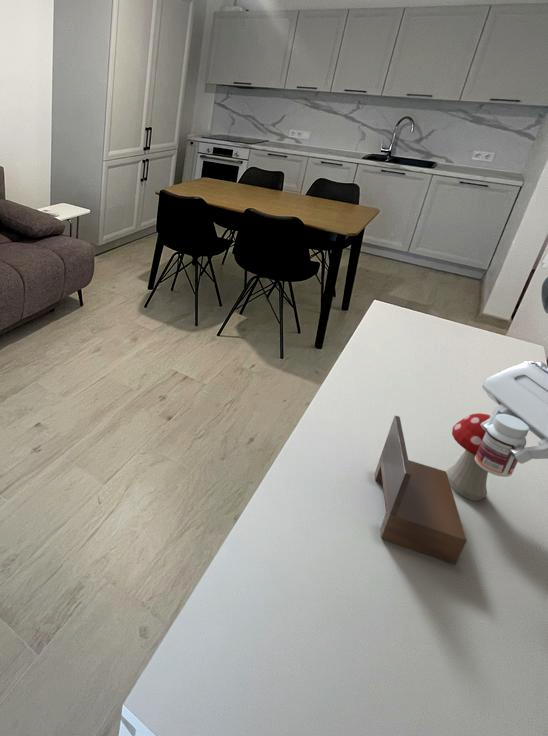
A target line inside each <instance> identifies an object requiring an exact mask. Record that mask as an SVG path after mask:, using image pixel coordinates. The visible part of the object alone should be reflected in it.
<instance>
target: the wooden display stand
mask: <svg viewBox="0 0 548 736" xmlns="http://www.w3.org/2000/svg"><path fill="white" fill-rule="evenodd" d="M405 441H406V440H405V436H404V432H403V427H402V421H401V416H400V415H399V416H398V415H394V416H393V419H392V422H391V425H390V428H389V430H388V433H387V435H386V440H385V442H384V445H383V449H382V451H381V454H380V457H379V460H378V463H377V465H376V468H375V471H374V480H375V481H376V482H378V483H380V484H382V489H383V495H384V496H383V497H384V505H385V515H384V518H383V521H382V523H381V526H380V528H379V532H380V539H382V540H384V541H387V542H390V543H392V544H396V545H398V546H401V547H404V548H407V549H409V550H413V551H415V552H417V553H419V554H423V555H425V556H429V557H431V558H433V559H437V560H440V561H442V562H445V563H448V564H450V565H454V566H456V565H457V563H458V561H459V558H460V556H461V554H462V552H463V550H464V547H465V545H466V543H467V541H468V540H467V537H466V534H465V530H464V527H463V524H462V520H461V517H460V514H459V510H458V508H457V503H456V500H455V496H454V493H453V490H452V487H451V486H450V483H449V480H448V476H447V470H442V469H439V468H436V467H433V466H429V465H426V464H423V463H419V462H416V461H413V460H410V459H409V457H408V451H407V446H406V442H405Z"/></svg>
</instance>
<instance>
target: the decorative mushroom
mask: <svg viewBox="0 0 548 736" xmlns="http://www.w3.org/2000/svg"><path fill="white" fill-rule="evenodd" d="M490 416H491V414H486V413H482V412H481V413H480V412H479V413H471V414H469V415H466V416H465V417H464V418H462V419H461V420H459V421H457V423H455V424H454V425H453V426H452V430H451V435H452V437H453V439H454V440H455V442H456V443H457V444H458V445H459V446H460V447H462V448H463V449H464V452H463V453H462V454H461V455H460V457H459V458H458V459H457V461H456V462H455V463H454V465H451V467H449V468H447V470H446V473H447V476H448V480H449V483H450V486H451V489H453V490H454V491H455V492H456V493H458V494H459V495H461V496H462V497H465V499H469V500H471V501H481V500H482V499H483V498H485V497H486V496H487V494H488V489H487V479H488V476H489V475H488V474H489V472H487V471H485V470H484V469H482V468H481V467H480V466H479V465H478V464H477V463H476V461H475V456H476V454H477V451H478V449H479V446H480V444H481V441H482V439H483V437H484V435H485V431H484V430H483V428H482V427H481V426H480V424H481V423H482V422H484V421H486V420H488V419H489V418H490Z"/></svg>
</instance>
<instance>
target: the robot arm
mask: <svg viewBox="0 0 548 736" xmlns="http://www.w3.org/2000/svg"><path fill="white" fill-rule="evenodd" d="M540 293H541V303H542V307H543V310H544V312H545V313H546V314H547V315H548V276H547V277H546V278H545V280H544V281H543V282H542V285H541V291H540ZM481 387H482V389H483V391H484V392H485V393H486V395H487V396H488V397H489V399H490V400H492V401H493V402H494V403H495V404H496V406H495V407H494V408H493V410H492V412H491V414H490V418H489V419H488V420H486V421H484V422H482V423H481V424H480V426H481V427H482V428H483V430H484V431H485V432H486V429H487V427H488V426H489V425H491V424H493V421H494V419H495V417H496V415H498V414H507V415H511V416H514V417H516V418H518V419H520V420H522V421H524V422H525V423H526V424H527V425H528V426H529V431H530V432H531V433H532V434H534V435H535V436H536V437H537V438H538V439H540V441H538V442H537V444H538V445H536V446H535V445H534V446H527V447H526V446H525V447H523V446H521V445H520V444H519V445H518V446H516V447H515V448H512V449H510V451H509V452H510V453H511V455H512V456H513V457H514V458H515V459H516V460H517V461H518V462H517V463H519V464H520V465H523V464H525V463H527V462H529V461H531V460H543V459H544V460H545V459H546V460H547V459H548V365H547V364H546V363H544V362H542V361H528V360H527V361H526V360H525V361H523V362H521V363H519V364H516V365H513V366H510V367H507V368H505V369H503V370H500V371H499V372H496V373H495V374H492V375H491V376H489V377H486V378H485V379H484V380H483V382H482V384H481Z"/></svg>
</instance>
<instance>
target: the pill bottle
mask: <svg viewBox="0 0 548 736" xmlns="http://www.w3.org/2000/svg"><path fill="white" fill-rule="evenodd" d="M529 431H530V430H529V426H528V425H527V424H526V423H525V422H524V421H522V420H520V419H518V418H516V417H514V416H511V415H507V414H498V415H496V417H495V419H494V421H493V424H491V425H489V426H488V427H487V429H486V432H485V435H484V437H483V439H482V441H481V444H480V446H479V449H478V451H477V454H476V456H475V461H476V463H477V464H478V465H479V466H480V467H481V468H482V469H484V470H485V471H487V472H488V474H491V475H494V476H497V477H502V478H507V477H508V478H509V477H511V476H512V475H513V473H514V471H515V468H516V466H517V464H518V463H519V462H518V461H517V460H516V459H515V458H514V457H513V456H512V455H511V453H510V452H509V451H510V449H512V448H515V447H516V446H518V445H519V444H520V445H521V446H523V447H524V448H526V446H527V438H526V437H527V435H528V433H529Z"/></svg>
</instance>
